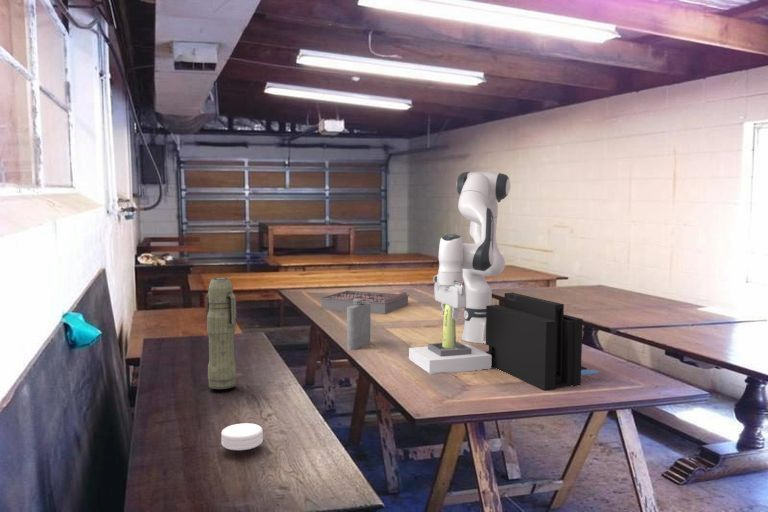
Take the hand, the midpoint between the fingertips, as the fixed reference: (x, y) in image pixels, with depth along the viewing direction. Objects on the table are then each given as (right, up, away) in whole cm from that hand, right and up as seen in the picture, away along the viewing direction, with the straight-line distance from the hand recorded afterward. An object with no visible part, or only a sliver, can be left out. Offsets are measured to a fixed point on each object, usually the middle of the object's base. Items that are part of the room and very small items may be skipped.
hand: (449, 317), depth 230 cm
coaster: (-59, -24, -74) cm, 98 cm away
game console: (+34, -19, -7) cm, 40 cm away
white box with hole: (0, -18, +2) cm, 18 cm away
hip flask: (-35, -16, +30) cm, 48 cm away
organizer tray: (-34, -8, +119) cm, 124 cm away
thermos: (-77, -20, -25) cm, 83 cm away
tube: (0, -11, +1) cm, 11 cm away
